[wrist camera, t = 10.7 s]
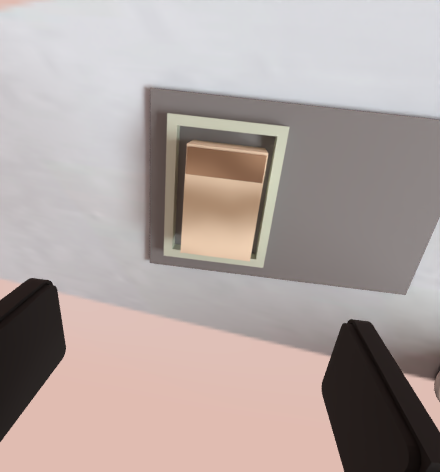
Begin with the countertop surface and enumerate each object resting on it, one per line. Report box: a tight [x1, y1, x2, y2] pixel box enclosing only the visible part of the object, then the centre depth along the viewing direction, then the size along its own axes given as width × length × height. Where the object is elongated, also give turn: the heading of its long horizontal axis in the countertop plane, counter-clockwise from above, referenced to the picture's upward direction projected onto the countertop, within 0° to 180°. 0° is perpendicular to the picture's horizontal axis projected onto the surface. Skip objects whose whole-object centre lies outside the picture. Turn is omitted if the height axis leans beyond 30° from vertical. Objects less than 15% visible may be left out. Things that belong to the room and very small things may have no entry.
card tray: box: [164, 113, 290, 268], centre depth 25 cm, size 13×10×1 cm
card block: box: [180, 140, 268, 261], centre depth 24 cm, size 9×6×4 cm, turn 174°
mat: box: [150, 88, 440, 295], centre depth 26 cm, size 26×16×1 cm, turn 84°
